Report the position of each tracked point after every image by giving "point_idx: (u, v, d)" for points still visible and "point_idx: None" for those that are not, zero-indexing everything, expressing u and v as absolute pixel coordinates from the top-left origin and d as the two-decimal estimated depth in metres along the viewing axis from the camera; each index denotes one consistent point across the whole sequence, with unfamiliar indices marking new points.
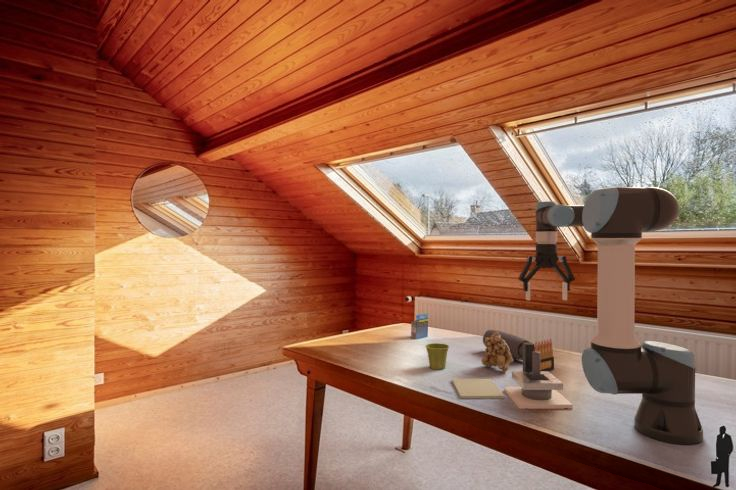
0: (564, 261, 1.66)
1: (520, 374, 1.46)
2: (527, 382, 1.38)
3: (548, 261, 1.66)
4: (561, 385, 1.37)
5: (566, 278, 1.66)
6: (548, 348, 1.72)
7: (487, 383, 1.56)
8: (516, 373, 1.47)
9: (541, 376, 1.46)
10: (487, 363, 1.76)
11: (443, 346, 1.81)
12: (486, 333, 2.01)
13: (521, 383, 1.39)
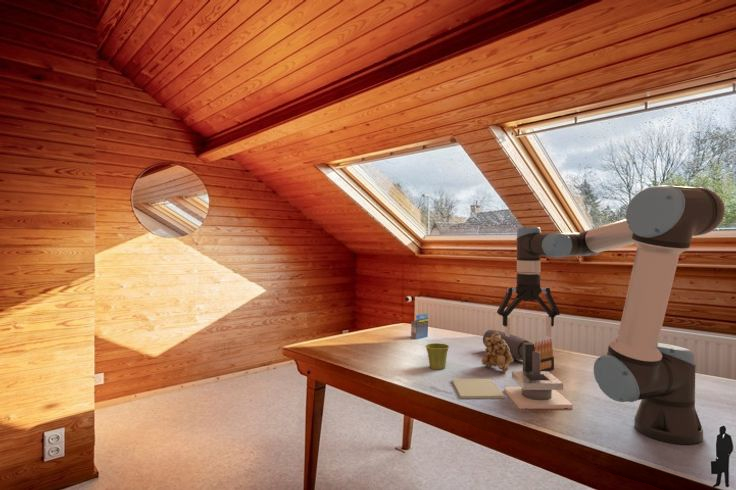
0: (548, 293, 1.49)
1: (520, 374, 1.46)
2: (527, 382, 1.38)
3: (530, 293, 1.49)
4: (561, 385, 1.37)
5: (550, 312, 1.49)
6: (548, 348, 1.72)
7: (487, 383, 1.56)
8: (516, 373, 1.47)
9: (541, 376, 1.46)
10: (487, 363, 1.76)
11: (442, 346, 1.81)
12: (486, 333, 2.01)
13: (521, 383, 1.39)
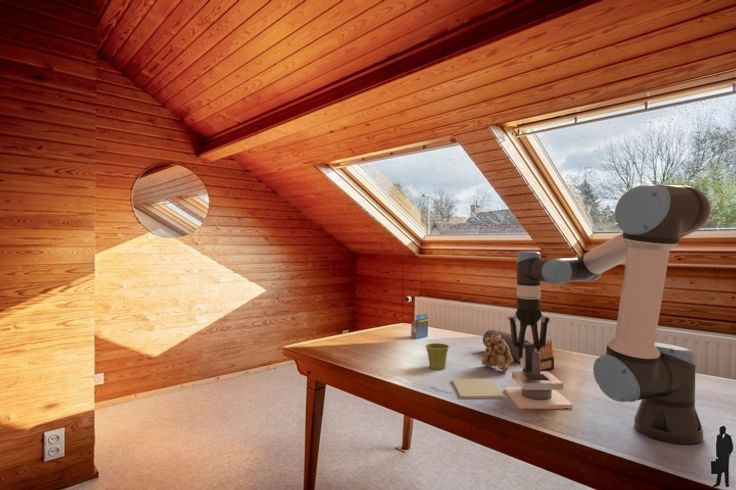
0: (545, 322, 1.49)
1: (521, 374, 1.46)
2: (527, 382, 1.38)
3: (530, 316, 1.49)
4: (561, 385, 1.37)
5: (537, 343, 1.49)
6: (548, 348, 1.72)
7: (487, 383, 1.56)
8: (516, 373, 1.47)
9: (541, 376, 1.46)
10: (487, 363, 1.76)
11: (443, 346, 1.81)
12: (486, 333, 2.01)
13: (521, 383, 1.39)
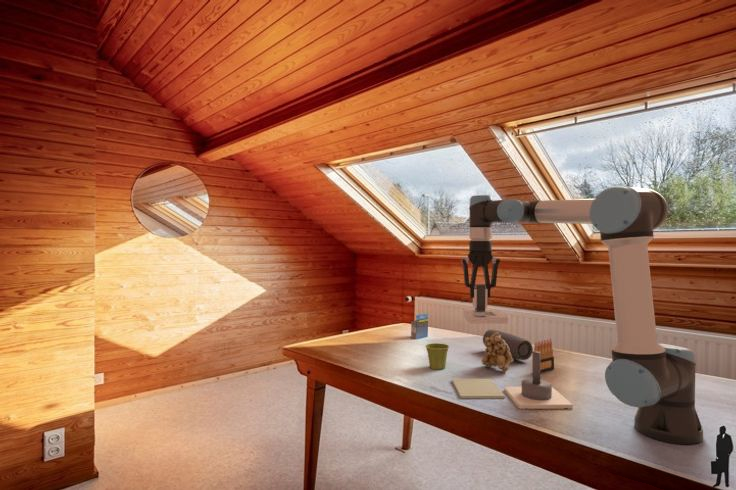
0: (496, 264, 1.55)
1: (471, 312, 1.53)
2: (474, 316, 1.44)
3: (481, 258, 1.55)
4: (506, 319, 1.43)
5: (488, 283, 1.55)
6: (548, 348, 1.72)
7: (487, 383, 1.56)
8: (467, 311, 1.53)
9: (490, 314, 1.52)
10: (487, 363, 1.76)
11: (442, 346, 1.81)
12: (486, 333, 2.01)
13: (469, 318, 1.46)
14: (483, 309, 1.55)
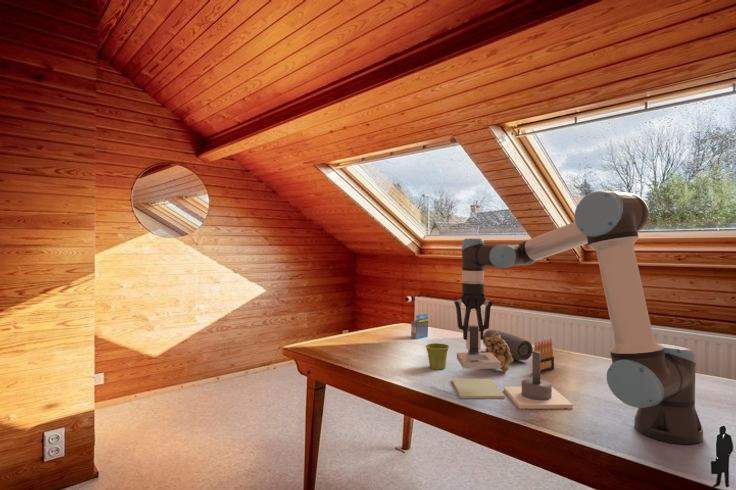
0: (488, 306, 1.56)
1: (464, 354, 1.53)
2: (467, 361, 1.45)
3: (474, 300, 1.56)
4: (499, 364, 1.44)
5: (481, 325, 1.56)
6: (548, 348, 1.72)
7: (487, 383, 1.56)
8: (460, 354, 1.54)
9: (483, 356, 1.53)
10: None
11: (442, 346, 1.81)
12: (486, 333, 2.01)
13: (462, 362, 1.46)
14: (476, 351, 1.56)
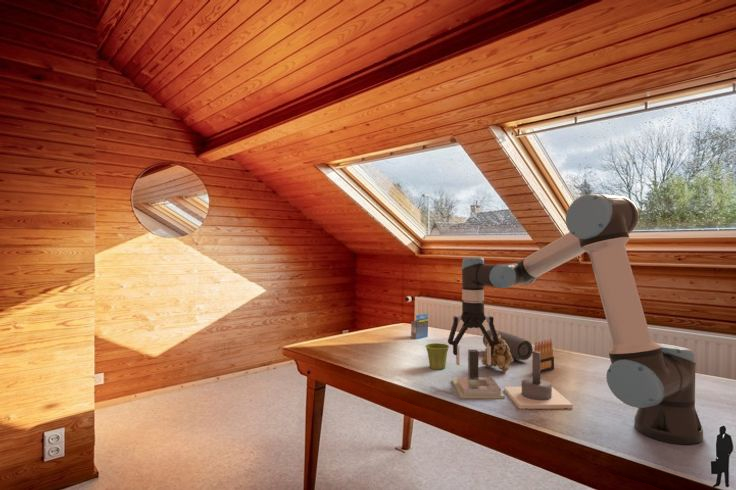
0: (491, 322, 1.56)
1: (464, 379, 1.54)
2: (467, 388, 1.45)
3: (474, 320, 1.56)
4: (499, 391, 1.44)
5: (490, 341, 1.56)
6: (548, 348, 1.72)
7: None
8: (460, 379, 1.54)
9: (483, 381, 1.54)
10: None
11: (442, 346, 1.81)
12: None
13: (462, 389, 1.47)
14: (476, 376, 1.56)
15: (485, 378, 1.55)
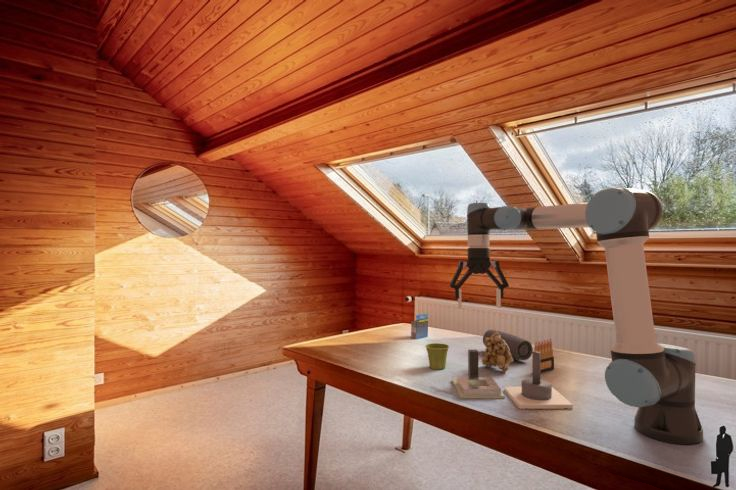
0: (497, 266, 1.56)
1: (464, 379, 1.54)
2: (467, 388, 1.45)
3: (480, 266, 1.56)
4: (499, 391, 1.44)
5: (499, 284, 1.56)
6: (548, 348, 1.72)
7: None
8: (460, 379, 1.54)
9: (483, 381, 1.54)
10: (487, 363, 1.76)
11: (442, 346, 1.81)
12: (486, 333, 2.01)
13: (462, 389, 1.47)
14: (476, 376, 1.56)
15: (485, 378, 1.55)
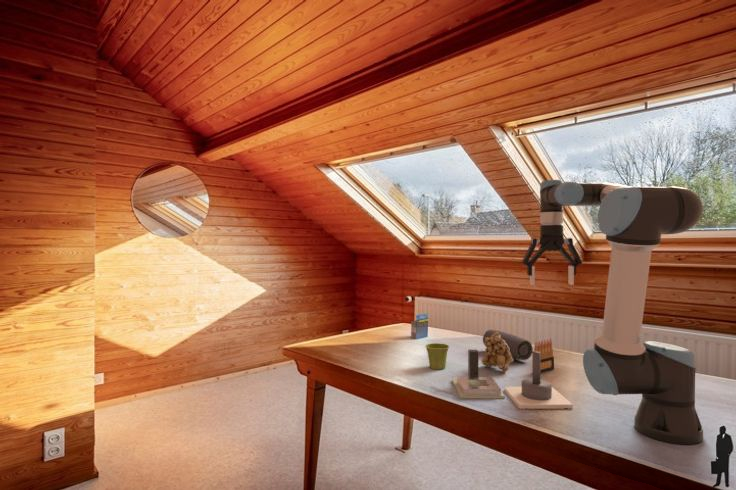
0: (570, 243, 1.56)
1: (464, 379, 1.54)
2: (467, 388, 1.45)
3: (553, 243, 1.57)
4: (499, 391, 1.44)
5: (572, 261, 1.57)
6: (548, 348, 1.72)
7: None
8: (460, 379, 1.54)
9: (483, 381, 1.54)
10: (487, 363, 1.76)
11: (443, 346, 1.81)
12: (486, 333, 2.01)
13: (462, 389, 1.47)
14: (476, 376, 1.56)
15: (485, 378, 1.55)
